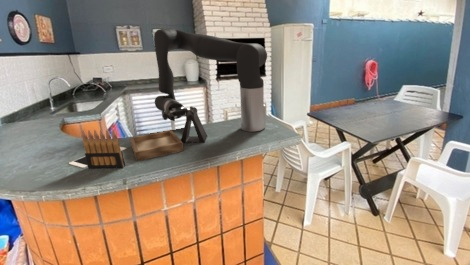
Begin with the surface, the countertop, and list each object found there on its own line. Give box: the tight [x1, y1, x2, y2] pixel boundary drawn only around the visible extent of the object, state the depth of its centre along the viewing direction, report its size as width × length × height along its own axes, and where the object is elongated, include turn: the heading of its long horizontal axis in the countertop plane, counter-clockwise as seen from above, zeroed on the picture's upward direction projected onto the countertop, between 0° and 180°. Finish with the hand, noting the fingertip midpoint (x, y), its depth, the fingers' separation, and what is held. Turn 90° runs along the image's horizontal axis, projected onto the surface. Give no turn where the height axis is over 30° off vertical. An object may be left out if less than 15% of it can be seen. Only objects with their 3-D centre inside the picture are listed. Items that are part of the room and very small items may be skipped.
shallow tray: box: [129, 129, 184, 162], centre depth 87 cm, size 15×15×3 cm
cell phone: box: [68, 146, 128, 169], centre depth 83 cm, size 8×16×1 cm, turn 153°
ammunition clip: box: [81, 129, 126, 170], centre depth 72 cm, size 11×2×12 cm, turn 87°
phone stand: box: [180, 106, 208, 144], centre depth 91 cm, size 9×6×12 cm, turn 87°
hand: (184, 116), depth 100 cm, fingers open, 8 cm apart
